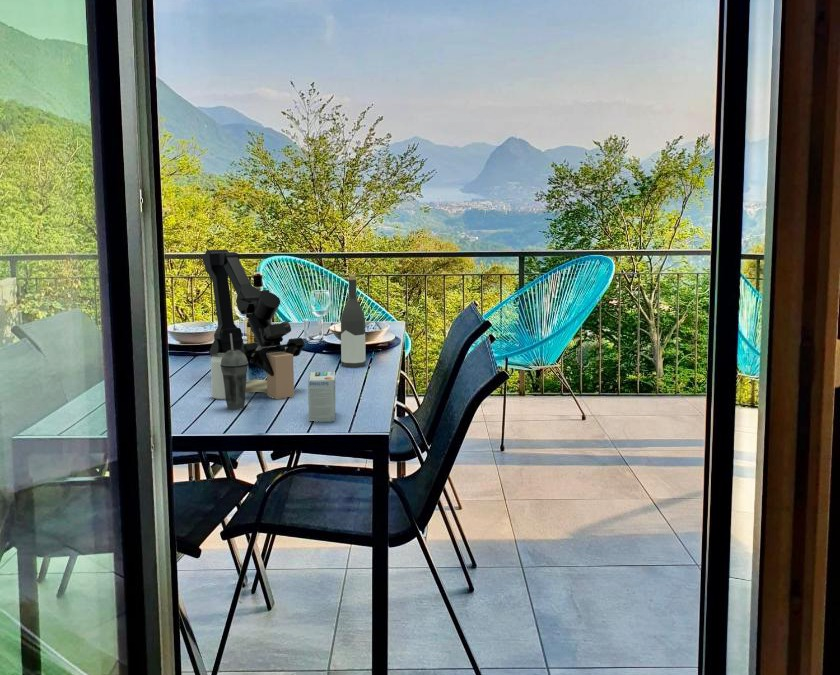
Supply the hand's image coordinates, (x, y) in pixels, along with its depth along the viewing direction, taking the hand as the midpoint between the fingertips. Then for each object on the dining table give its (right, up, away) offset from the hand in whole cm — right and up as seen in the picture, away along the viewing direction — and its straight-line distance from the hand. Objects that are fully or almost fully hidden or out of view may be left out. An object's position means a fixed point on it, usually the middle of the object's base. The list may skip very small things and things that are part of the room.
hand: (282, 374), depth 243 cm
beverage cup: (-11, -9, -10) cm, 17 cm away
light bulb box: (+13, -10, -20) cm, 26 cm away
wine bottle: (+16, +1, +47) cm, 49 cm away
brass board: (-8, -5, +12) cm, 16 cm away
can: (-17, -7, +1) cm, 18 cm away
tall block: (-1, -6, +2) cm, 7 cm away
